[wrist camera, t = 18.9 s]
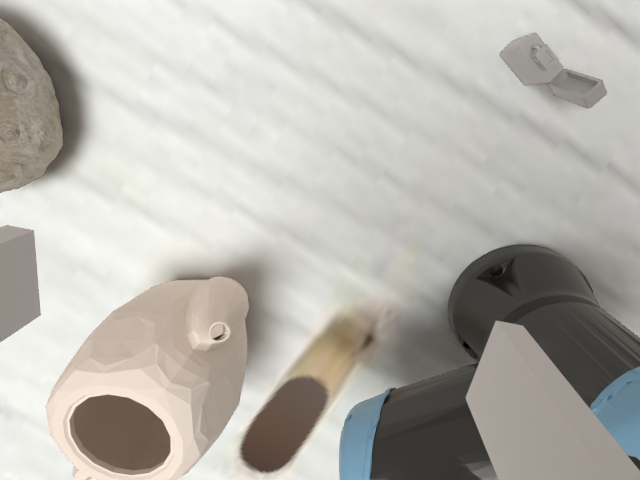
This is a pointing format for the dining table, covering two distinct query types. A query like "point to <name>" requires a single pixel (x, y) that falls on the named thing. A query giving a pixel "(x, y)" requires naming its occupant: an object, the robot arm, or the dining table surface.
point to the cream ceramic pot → (153, 382)
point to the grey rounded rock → (25, 113)
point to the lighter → (550, 71)
